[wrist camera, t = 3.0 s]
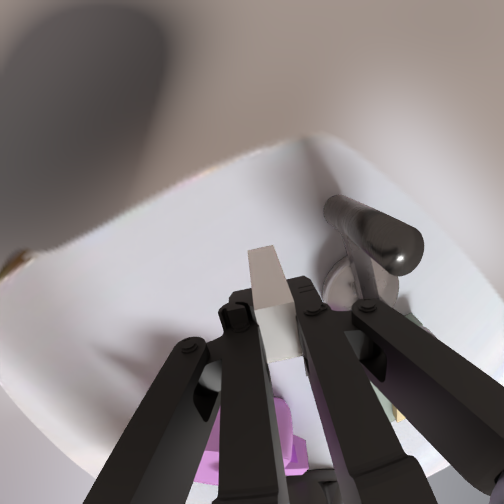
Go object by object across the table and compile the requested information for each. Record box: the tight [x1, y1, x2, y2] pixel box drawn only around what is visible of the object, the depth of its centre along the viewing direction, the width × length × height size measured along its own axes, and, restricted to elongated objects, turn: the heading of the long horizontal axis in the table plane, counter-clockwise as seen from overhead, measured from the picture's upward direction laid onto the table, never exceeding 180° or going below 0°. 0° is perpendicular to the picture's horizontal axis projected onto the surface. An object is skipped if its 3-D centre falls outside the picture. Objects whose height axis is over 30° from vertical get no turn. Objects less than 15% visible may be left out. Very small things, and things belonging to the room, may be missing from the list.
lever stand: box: [369, 313, 423, 423], centre depth 28 cm, size 16×11×5 cm
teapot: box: [194, 397, 309, 485], centre depth 26 cm, size 18×10×10 cm, turn 73°
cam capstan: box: [323, 195, 436, 338], centre depth 19 cm, size 13×7×11 cm, turn 22°
